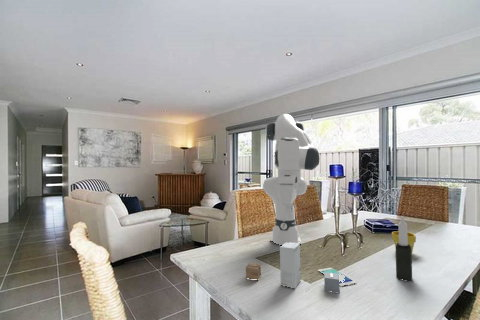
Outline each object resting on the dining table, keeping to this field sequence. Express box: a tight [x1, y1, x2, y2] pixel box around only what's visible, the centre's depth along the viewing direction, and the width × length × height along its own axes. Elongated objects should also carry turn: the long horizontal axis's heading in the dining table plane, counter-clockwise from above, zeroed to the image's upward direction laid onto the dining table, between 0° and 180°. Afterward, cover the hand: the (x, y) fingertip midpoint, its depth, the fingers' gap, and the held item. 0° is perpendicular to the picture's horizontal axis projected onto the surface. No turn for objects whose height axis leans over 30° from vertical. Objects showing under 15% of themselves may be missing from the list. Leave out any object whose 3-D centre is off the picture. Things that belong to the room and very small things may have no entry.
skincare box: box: [279, 242, 302, 289], centre depth 95 cm, size 8×6×15 cm
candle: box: [395, 215, 413, 282], centre depth 98 cm, size 5×5×25 cm
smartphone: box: [317, 267, 357, 287], centre depth 99 cm, size 8×1×15 cm
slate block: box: [323, 272, 340, 294], centre depth 90 cm, size 5×5×5 cm
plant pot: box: [391, 230, 417, 252], centre depth 126 cm, size 10×10×10 cm
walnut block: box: [245, 262, 262, 280], centre depth 99 cm, size 5×5×5 cm
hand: (289, 213), depth 95 cm, fingers open, 3 cm apart
